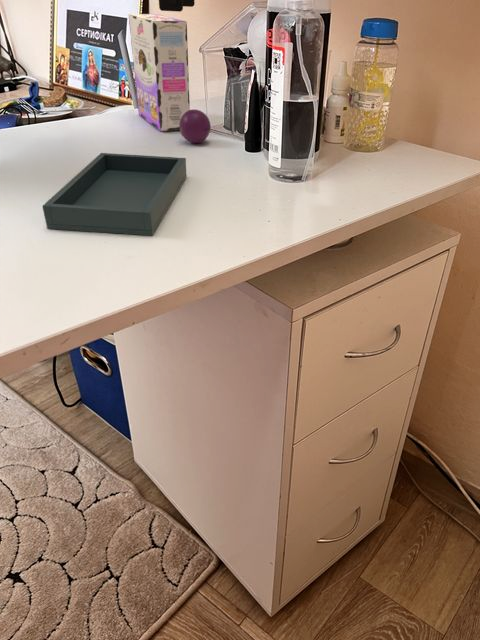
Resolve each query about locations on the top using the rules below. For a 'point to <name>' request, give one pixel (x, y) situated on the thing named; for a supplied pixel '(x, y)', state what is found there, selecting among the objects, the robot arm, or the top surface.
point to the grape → (194, 126)
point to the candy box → (160, 68)
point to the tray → (117, 195)
